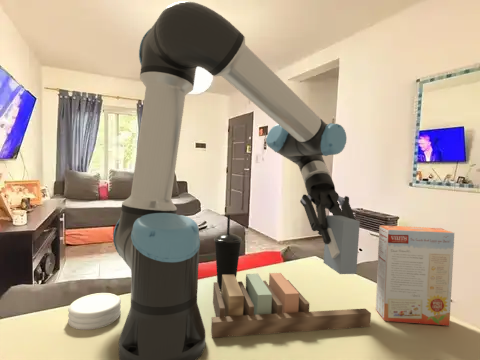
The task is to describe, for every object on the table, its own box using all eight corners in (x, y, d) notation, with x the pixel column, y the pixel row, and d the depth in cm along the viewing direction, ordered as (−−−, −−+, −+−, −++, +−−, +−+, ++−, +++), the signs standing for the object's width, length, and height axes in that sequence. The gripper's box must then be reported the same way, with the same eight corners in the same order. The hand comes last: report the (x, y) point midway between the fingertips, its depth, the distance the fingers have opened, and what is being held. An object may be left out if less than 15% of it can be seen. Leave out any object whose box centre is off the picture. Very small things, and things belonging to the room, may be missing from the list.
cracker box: (434, 313, 69) (440, 227, 69) (450, 327, 63) (457, 232, 62) (373, 308, 71) (378, 223, 70) (383, 321, 65) (389, 228, 64)
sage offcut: (256, 328, 60) (258, 295, 60) (245, 301, 72) (246, 274, 72) (270, 327, 61) (272, 294, 61) (256, 301, 73) (257, 273, 72)
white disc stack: (103, 333, 56) (104, 316, 56) (56, 328, 57) (56, 311, 57) (129, 309, 66) (129, 294, 66) (88, 305, 67) (88, 290, 67)
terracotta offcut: (284, 326, 61) (285, 293, 61) (268, 300, 73) (269, 273, 73) (297, 325, 62) (299, 293, 62) (279, 300, 74) (280, 272, 73)
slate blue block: (340, 274, 65) (343, 221, 65) (323, 262, 73) (326, 215, 72) (356, 273, 66) (359, 221, 65) (338, 262, 74) (341, 215, 73)
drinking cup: (228, 279, 86) (231, 212, 85) (245, 288, 80) (248, 216, 79) (206, 285, 81) (209, 214, 80) (223, 295, 75) (226, 218, 74)
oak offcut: (228, 330, 59) (229, 296, 59) (221, 302, 71) (222, 274, 71) (242, 329, 60) (243, 295, 59) (233, 302, 71) (234, 274, 71)
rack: (212, 337, 56) (213, 312, 56) (206, 302, 70) (207, 282, 70) (370, 326, 62) (371, 303, 62) (335, 296, 77) (336, 278, 76)
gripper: (339, 190, 87) (370, 262, 71) (285, 188, 84) (305, 263, 68) (350, 173, 81) (386, 247, 66) (293, 170, 78) (316, 247, 63)
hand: (345, 255), depth 67 cm, fingers closed on slate blue block, 4 cm apart
